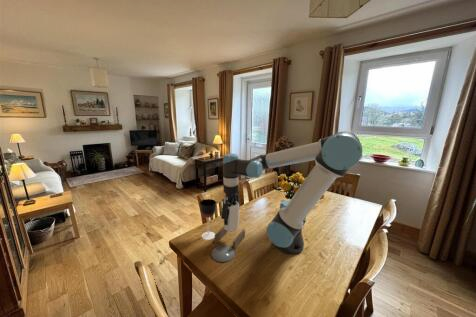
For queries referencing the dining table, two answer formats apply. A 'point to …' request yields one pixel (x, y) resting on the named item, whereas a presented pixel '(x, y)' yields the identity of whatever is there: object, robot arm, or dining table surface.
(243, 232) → the rail slot
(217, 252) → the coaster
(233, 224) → the cup
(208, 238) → the wineglass
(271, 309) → the dining table surface
